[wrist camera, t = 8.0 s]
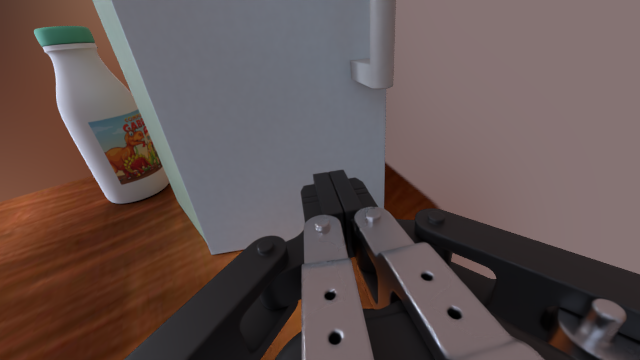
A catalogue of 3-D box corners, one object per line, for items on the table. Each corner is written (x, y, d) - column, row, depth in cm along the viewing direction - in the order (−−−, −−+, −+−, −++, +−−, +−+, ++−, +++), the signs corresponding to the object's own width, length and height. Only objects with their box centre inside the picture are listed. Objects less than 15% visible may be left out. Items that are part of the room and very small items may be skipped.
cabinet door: (407, 266, 20) (440, -147, 10) (195, 305, 19) (-16, -120, 9) (380, 219, 25) (383, -79, 15) (213, 247, 24) (96, -57, 14)
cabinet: (335, 184, 33) (317, -37, 23) (210, 248, 24) (89, -59, 14) (283, 160, 41) (253, -9, 31) (177, 202, 33) (87, -11, 22)
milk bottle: (104, 212, 32) (-8, 27, 23) (113, 188, 38) (28, 33, 29) (171, 192, 35) (98, 21, 26) (170, 172, 41) (110, 28, 32)
